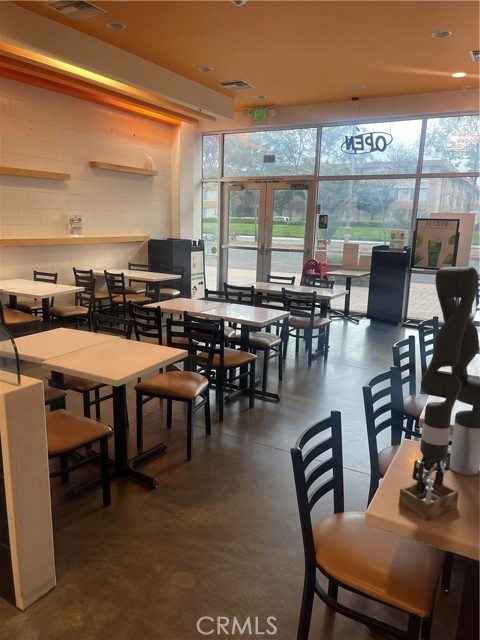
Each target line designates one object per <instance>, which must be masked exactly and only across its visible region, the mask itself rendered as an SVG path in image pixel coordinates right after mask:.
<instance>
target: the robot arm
mask: <svg viewBox="0 0 480 640" xmlns="http://www.w3.org/2000/svg"><path fill="white" fill-rule="evenodd" d="M478 288H479V273H478V271H477V269H476V268H474V267H472V266H446V267H445V266H444V267H440V268H439V269H438V270H437V272H436V275H435V289H436V294H437V298H438V301H439V305H440V308H441V312H442V317H443V322H444V323H443V325H442V326H441V327H440V329H439V330H438V331H437V333H436V336H435V341H434V347H433V353H432V357H431V360H430V362H429V365H428V367H427V368H426V370H425V372H424V374H423V375H422V378H421V381H420V388H421V391H422V392H423V393H424V394H425V395H427V396H432V397H437V398H441V399H442V398H443V399H445V400H444V401H434V402H433V401H432V402H428V403H427V404H426V405H425V408H424V416H423V417H424V419H423V425H422V430H421V438H420V448H419V450H420V453H421V454H422V458H421V460H418V459H415V460H414V462H413V463H414V465H413V470H412V479H413V480H414V481H416V482H417V491H418V492H419V493H421V494H423V493H425V484H426V482H425V481H426V480H427V478H428V477H430V476H431V475H432V474H433V473H434V472H435V476H434V479H435V483H436V484H437V485H439V486H441V485H443V484H444V475H446V473H447V472H448V471H449V470H450V469H451V470H452V471H453V472H455V473H457V474H459V475H462V476H469V477H470V476H476V475H478V474H479V470H480V378H477V377H473V376H470V375H469V374H468V366H469V365H470V363H471V362H472V361H473V359H474V358H475V357H476V356H477V354H478V353H479V350H480V341H479V340H480V339H479V333H478V331H479V330H478V328H477V327H476V325H475V324H474V323H473V321H472V320H471V319H470V315H471V312H472V308H473V305H474V302H475V298H476V295H477V292H478ZM456 298H457V299H458V298H459V300H460V301H459V302H458V303H457V301H456ZM445 367H450V368H451V374H450V373H445V372H439V370H440V369H441V368H445ZM456 401H458V402H460V403H463V404H466V405H470V406H472V409H471V410H460V411H457V412H456V413H455V416H454V422H453V432H452V439H451V440H452V441H451V448H450V449H451V450H450V452H448V451H449V446H450V444H449V443H450V437H451V436H450V435H451V430H450V428H451V419H452V413H453V409H454V405H455V403H456ZM425 470H426V471H425Z"/></svg>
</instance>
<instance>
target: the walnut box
mask: <svg viewBox="0 0 480 640" xmlns="http://www.w3.org/2000/svg"><path fill="white" fill-rule="evenodd" d="M428 479H429V478H427V480H428ZM427 480H426V481H425V482H426V484H425V493H423V494H421V493H419V492H418V491H417V481H416V482H414V483H412V484H409V485H405V486H404V487H402V488H400V489H399V498H398V504H399V505H400V506H401V507H403V508H405V509H407V510H408V511H410V512H411V513H413V514H414V515H416V516H417V517H419V518H421V519H422V520H424V521H426V522H429V521H432V520H434V519H436V518H437V517H439V516H441V515H444V514H446V513H448V512H450V511H452V510H453V509H456V508H457V507H458V499H459V491H458V490H456V489H453V488H452V487H450V486H448V485H447V484H444V483H443V485H441V486H439V485H437V484H436V483H435V478H434V479H432V480H433V481H434V483H433V485H432V488H433V490H432V491H431V500H432V501H433V502H431V503H429V504H428V503H426V502H425V501H423V500H421V499H425V498H426V495H427V489H426V486H428V484H427Z"/></svg>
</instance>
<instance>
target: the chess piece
mask: <svg viewBox="0 0 480 640" xmlns="http://www.w3.org/2000/svg"><path fill="white" fill-rule="evenodd" d="M428 478H429V479H428V480H427V484H428V486H426V489H427V495H426V497H424V498H422V499H421V500H423V501H425V502H426V503H428V504H429V503H431V502H433V501H432V500H431V491H432V490H433V488H432V485H433V483H434V481H433V480H432V479H435V476H433V475H432V474H431V476H430V477H428Z"/></svg>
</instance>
